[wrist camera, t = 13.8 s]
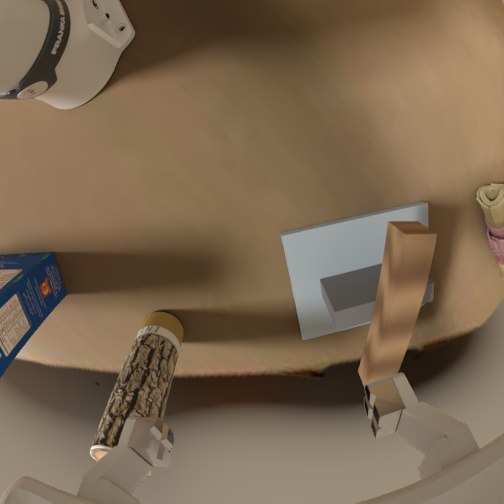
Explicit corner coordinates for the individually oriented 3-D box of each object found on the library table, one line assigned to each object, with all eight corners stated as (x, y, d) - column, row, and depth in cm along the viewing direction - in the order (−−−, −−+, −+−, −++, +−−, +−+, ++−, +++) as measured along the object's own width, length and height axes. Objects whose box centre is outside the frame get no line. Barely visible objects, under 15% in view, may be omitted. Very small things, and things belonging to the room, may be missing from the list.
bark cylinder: (193, 327, 44) (162, 473, 21) (168, 348, 45) (133, 479, 23) (159, 301, 42) (102, 444, 19) (137, 324, 43) (81, 453, 21)
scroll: (464, 206, 35) (489, 285, 41) (503, 207, 28) (518, 291, 34) (476, 177, 36) (499, 256, 42) (511, 176, 29) (527, 260, 35)
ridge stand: (301, 335, 45) (311, 377, 36) (280, 232, 38) (290, 263, 29) (420, 301, 43) (446, 332, 34) (423, 201, 36) (461, 220, 27)
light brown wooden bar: (387, 221, 27) (405, 234, 24) (417, 221, 27) (437, 233, 24) (358, 371, 36) (366, 391, 33) (382, 366, 36) (391, 386, 33)
